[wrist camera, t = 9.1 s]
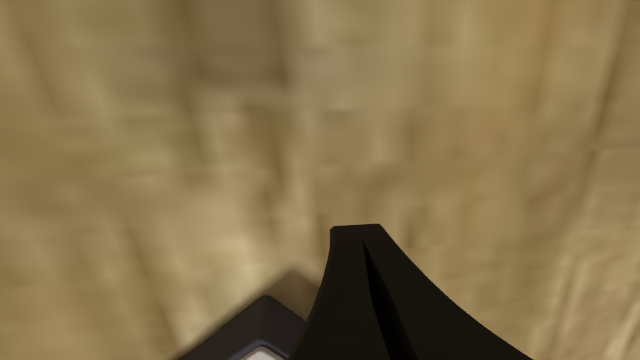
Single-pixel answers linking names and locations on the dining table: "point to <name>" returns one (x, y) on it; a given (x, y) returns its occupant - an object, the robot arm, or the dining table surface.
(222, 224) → the dining table surface
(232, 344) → the red white black box
